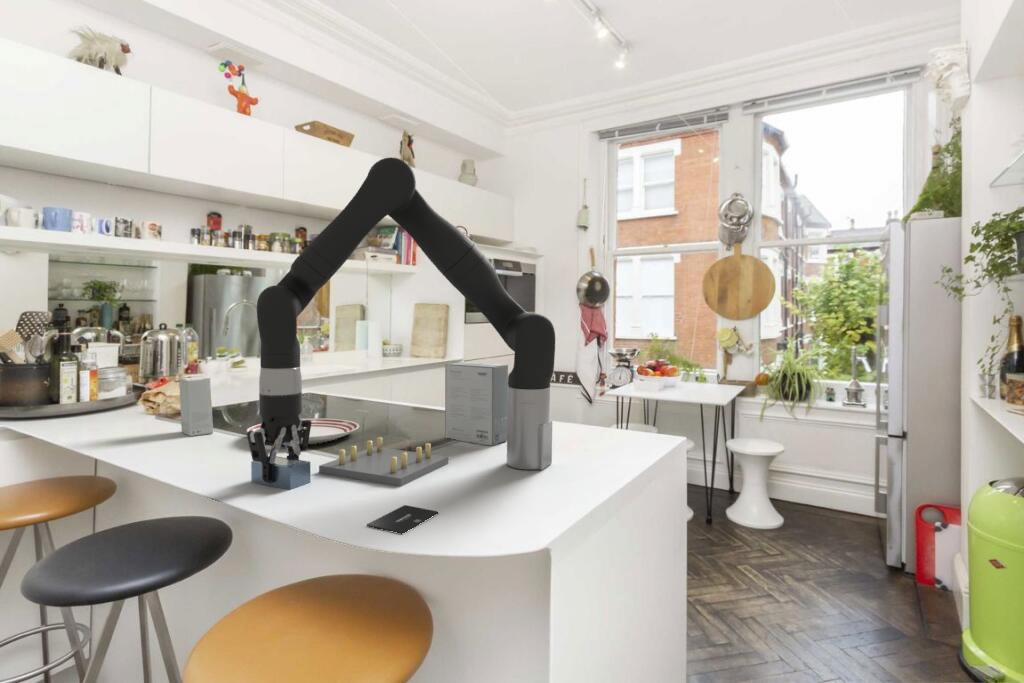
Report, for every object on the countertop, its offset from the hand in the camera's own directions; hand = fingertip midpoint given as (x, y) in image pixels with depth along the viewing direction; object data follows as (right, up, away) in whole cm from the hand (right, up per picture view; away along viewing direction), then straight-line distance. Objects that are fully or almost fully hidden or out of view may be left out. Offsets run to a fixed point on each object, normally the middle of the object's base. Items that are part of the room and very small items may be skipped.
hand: (281, 477), depth 107 cm
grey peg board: (+18, -1, +11) cm, 21 cm away
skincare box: (-40, +2, +41) cm, 57 cm away
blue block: (0, -1, 0) cm, 1 cm away
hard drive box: (+35, 0, +38) cm, 52 cm away
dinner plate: (-10, +1, +38) cm, 39 cm away
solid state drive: (+27, -3, -18) cm, 33 cm away
